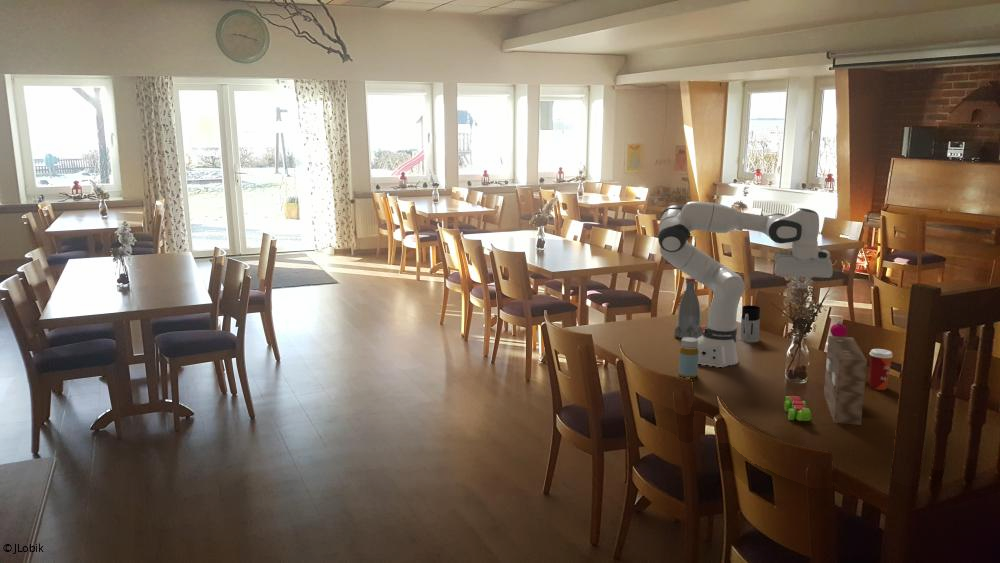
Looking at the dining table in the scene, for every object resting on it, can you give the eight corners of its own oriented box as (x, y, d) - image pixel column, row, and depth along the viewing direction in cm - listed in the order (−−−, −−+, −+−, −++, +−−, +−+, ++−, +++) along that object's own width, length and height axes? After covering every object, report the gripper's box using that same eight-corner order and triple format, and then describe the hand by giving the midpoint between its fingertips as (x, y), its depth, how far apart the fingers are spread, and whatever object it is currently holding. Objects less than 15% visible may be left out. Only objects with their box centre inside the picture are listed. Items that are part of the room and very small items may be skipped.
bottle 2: (687, 380, 280) (688, 343, 277) (675, 374, 286) (676, 338, 283) (701, 377, 283) (702, 340, 280) (688, 371, 289) (690, 335, 286)
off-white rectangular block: (834, 386, 240) (834, 376, 240) (831, 380, 245) (832, 371, 245) (853, 387, 239) (854, 378, 238) (851, 382, 244) (852, 373, 243)
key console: (834, 422, 240) (839, 357, 235) (823, 394, 264) (828, 335, 259) (860, 424, 237) (867, 359, 233) (847, 396, 262) (853, 336, 257)
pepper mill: (847, 372, 286) (851, 323, 281) (827, 371, 287) (831, 322, 283) (842, 366, 293) (847, 318, 288) (823, 365, 294) (827, 317, 290)
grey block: (828, 372, 254) (828, 363, 253) (826, 367, 258) (826, 358, 258) (846, 373, 252) (847, 364, 251) (844, 368, 257) (845, 360, 256)
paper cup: (888, 392, 264) (892, 355, 261) (865, 388, 268) (868, 352, 265) (890, 385, 271) (894, 350, 268) (867, 382, 275) (870, 346, 272)
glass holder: (761, 338, 331) (763, 306, 328) (753, 346, 320) (755, 313, 316) (742, 335, 336) (743, 304, 333) (733, 343, 324) (735, 311, 321)
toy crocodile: (781, 404, 256) (782, 387, 255) (801, 405, 255) (802, 388, 254) (791, 426, 237) (793, 409, 236) (813, 428, 236) (815, 410, 235)
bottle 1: (705, 341, 329) (708, 280, 323) (677, 341, 329) (679, 281, 323) (698, 333, 341) (701, 274, 335) (671, 333, 341) (673, 275, 335)
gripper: (775, 252, 272) (773, 288, 275) (834, 254, 267) (831, 291, 270) (774, 249, 278) (772, 284, 281) (832, 251, 273) (829, 287, 276)
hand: (801, 287), depth 275 cm, fingers closed
